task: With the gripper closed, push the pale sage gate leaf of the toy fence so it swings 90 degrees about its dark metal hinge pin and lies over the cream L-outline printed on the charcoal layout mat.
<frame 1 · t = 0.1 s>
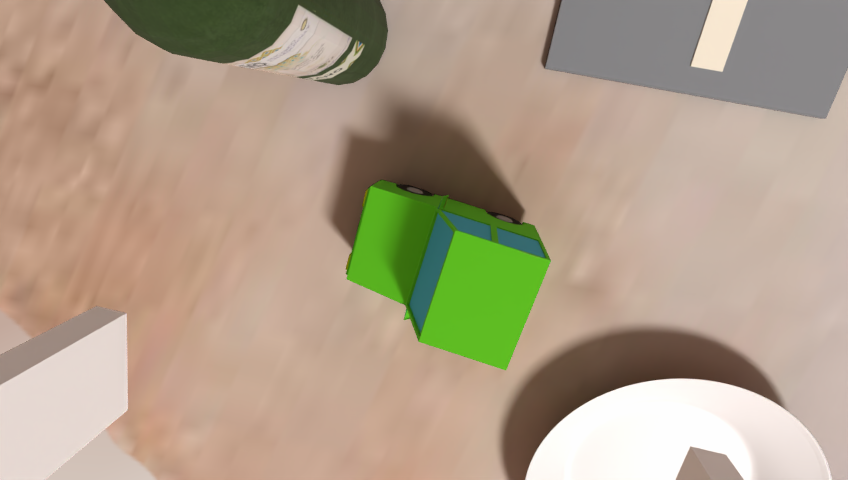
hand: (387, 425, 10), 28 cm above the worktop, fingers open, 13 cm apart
wine bottle: (339, 31, 35), on the worktop
toy car: (441, 241, 38), on the worktop
white plate: (654, 471, 42), on the worktop
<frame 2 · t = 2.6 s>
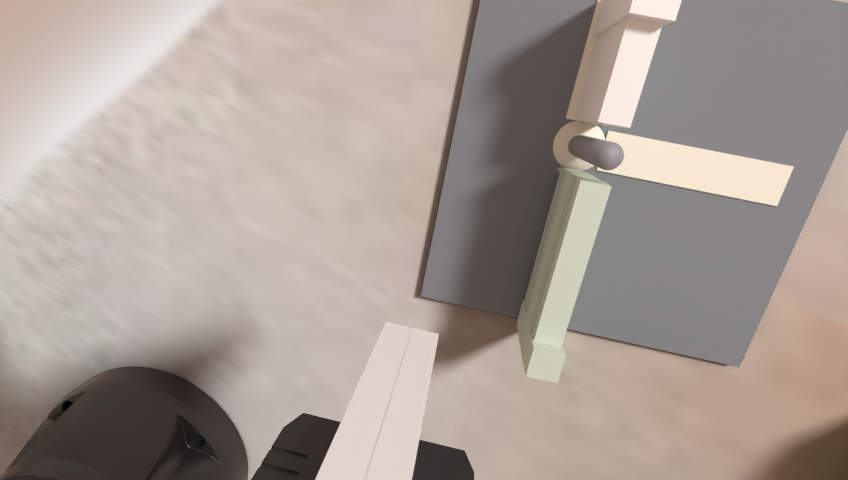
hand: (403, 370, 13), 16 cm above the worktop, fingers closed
gate leaf: (558, 268, 24), point 4 cm above the worktop, hinge at 0.0°
layout mat: (624, 173, 26), on the worktop
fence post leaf: (576, 145, 25), resting on layout mat
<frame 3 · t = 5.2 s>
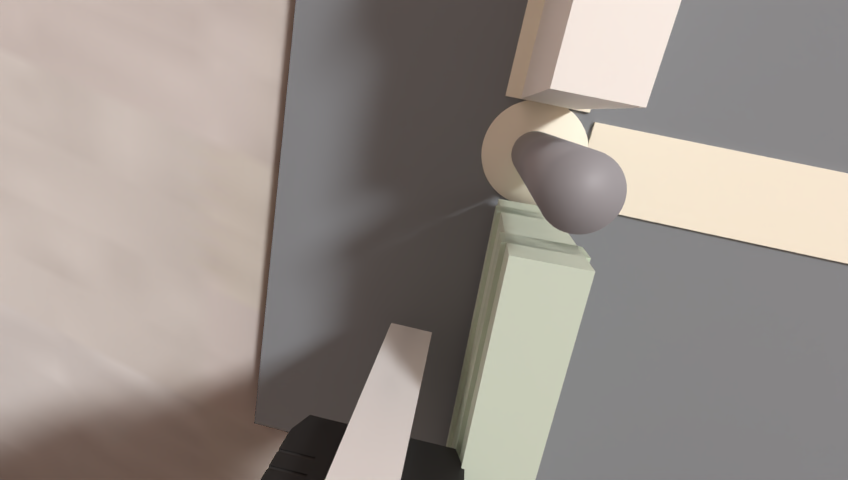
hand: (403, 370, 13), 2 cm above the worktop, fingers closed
gate leaf: (489, 427, 11), point 4 cm above the worktop, hinge at 2.3°, touching gripper
layout mat: (627, 209, 13), on the worktop
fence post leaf: (531, 152, 13), resting on layout mat
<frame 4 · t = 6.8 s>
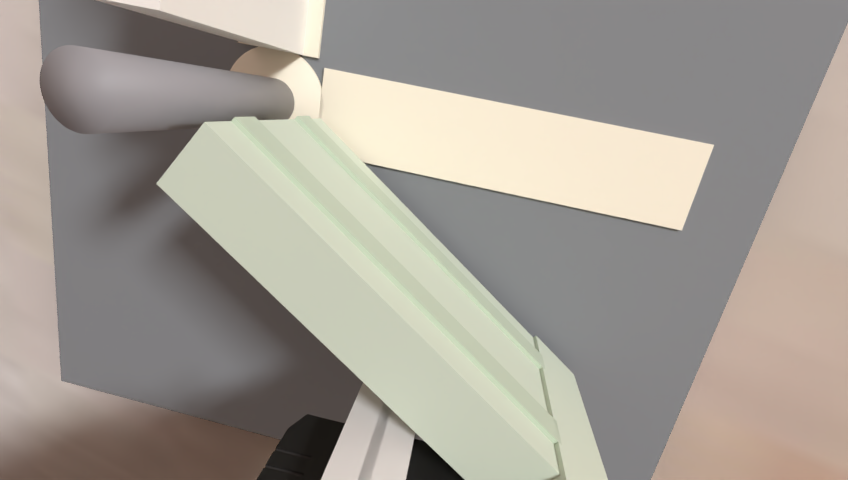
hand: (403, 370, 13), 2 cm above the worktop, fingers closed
gate leaf: (416, 313, 10), point 4 cm above the worktop, hinge at 55.5°, touching gripper
layout mat: (379, 158, 13), on the worktop
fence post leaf: (283, 102, 13), resting on layout mat
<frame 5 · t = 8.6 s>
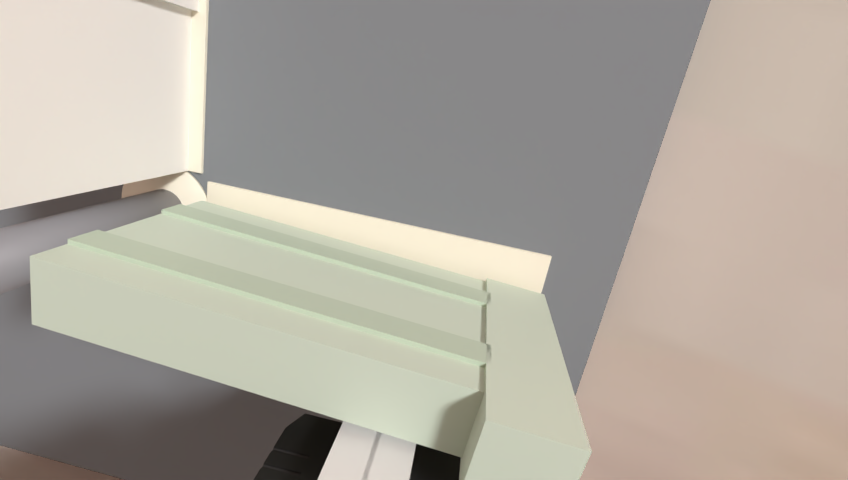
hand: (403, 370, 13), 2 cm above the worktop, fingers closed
gate leaf: (328, 316, 10), point 4 cm above the worktop, hinge at 86.5°, touching gripper
layout mat: (267, 255, 14), on the worktop
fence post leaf: (178, 204, 14), resting on layout mat
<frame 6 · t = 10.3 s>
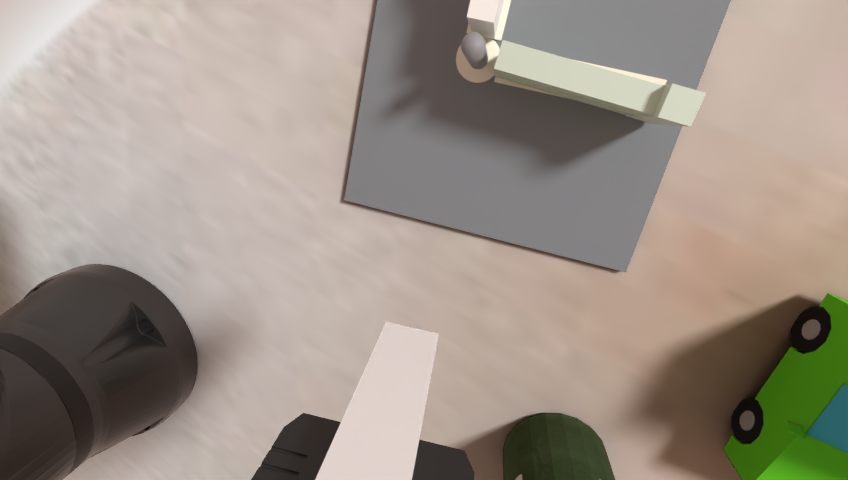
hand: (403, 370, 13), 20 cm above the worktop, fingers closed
gate leaf: (585, 84, 24), point 4 cm above the worktop, hinge at 86.5°
wine bottle: (552, 451, 36), on the worktop
toy car: (814, 388, 31), on the worktop
layout mat: (520, 86, 28), on the worktop
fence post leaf: (478, 60, 28), resting on layout mat
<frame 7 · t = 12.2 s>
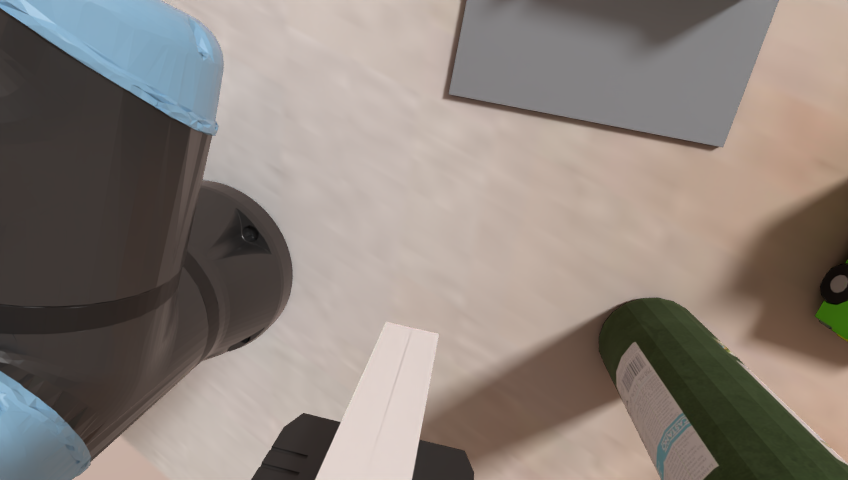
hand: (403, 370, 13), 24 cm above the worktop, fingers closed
wine bottle: (645, 338, 37), on the worktop
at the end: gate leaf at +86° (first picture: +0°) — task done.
